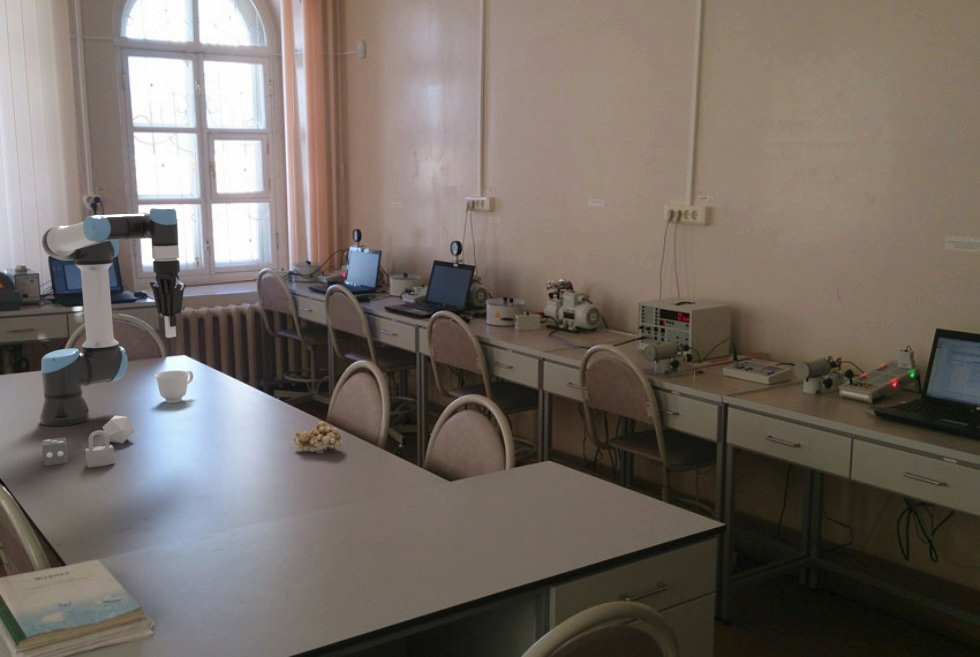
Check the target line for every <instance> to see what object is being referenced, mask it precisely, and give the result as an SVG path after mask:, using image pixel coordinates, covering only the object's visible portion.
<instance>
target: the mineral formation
mask: <svg viewBox="0 0 980 657" xmlns="http://www.w3.org/2000/svg"><path fill="white" fill-rule="evenodd" d="M293 443H294V445H295V446H298V449H297V452H300V453H301V452H312V453H313V452H315V453H316V454H323V453H324V451H325V452H326V451H327V450H331V449H334V447H336V448H338V447H341V446H343V444H344V441H343V440H342V433H341V431H339V429H338V428H337V427H332V428H331V427H330V426H329V425H327V423H326V422H325V421H323V420H322V421H319V422H318V423H317V425H316V427H315V428H313V429H312V430H310V431H309V432H307V431H305V430H296V431H295V437H293Z"/></svg>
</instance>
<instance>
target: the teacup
mask: <svg viewBox="0 0 980 657" xmlns="http://www.w3.org/2000/svg"><path fill="white" fill-rule="evenodd" d="M154 378H156V382H157V385H158V386H157V387H158V391H159V395H160V397H161V398H163V399H165V403H167V404H176V403H180V402H182V401H183V397H184V396H186V394H187V391H188V385H189V384H190V383H191V382H192V381H193V379H194V373H193V372H192V371H191V370H168V371H162V372H161V371H160V372H158V373H155V375H154Z"/></svg>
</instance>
